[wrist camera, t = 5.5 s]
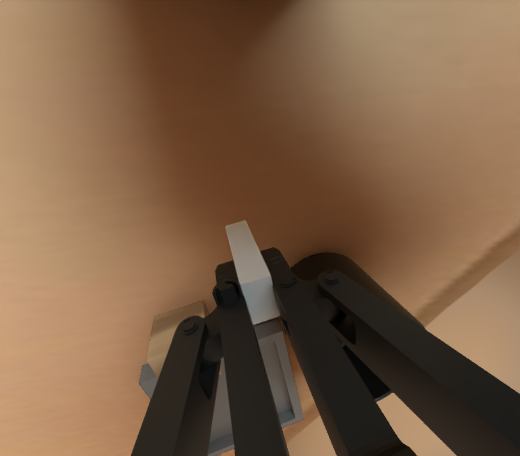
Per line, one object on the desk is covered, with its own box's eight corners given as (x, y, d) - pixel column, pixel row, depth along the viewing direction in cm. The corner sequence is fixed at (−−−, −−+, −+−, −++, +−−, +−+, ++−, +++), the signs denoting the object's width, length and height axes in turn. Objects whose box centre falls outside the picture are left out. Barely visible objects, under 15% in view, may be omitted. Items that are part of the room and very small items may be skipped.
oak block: (154, 316, 22) (146, 359, 18) (203, 299, 23) (205, 338, 19) (172, 348, 24) (168, 393, 20) (217, 332, 25) (221, 373, 21)
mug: (326, 343, 30) (375, 427, 22) (255, 303, 24) (286, 394, 16) (384, 289, 28) (459, 358, 20) (322, 233, 23) (391, 297, 15)
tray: (142, 366, 24) (138, 383, 22) (276, 317, 26) (282, 330, 24) (197, 446, 32) (198, 463, 30) (298, 404, 34) (303, 419, 32)
